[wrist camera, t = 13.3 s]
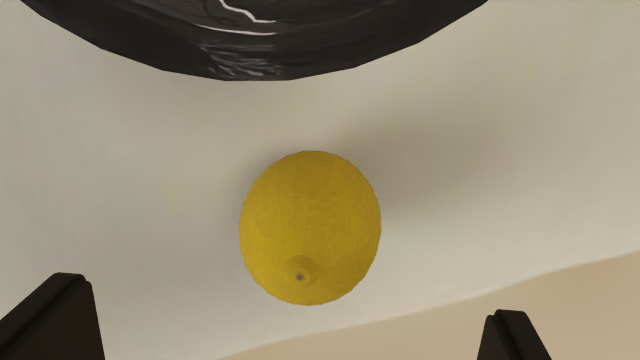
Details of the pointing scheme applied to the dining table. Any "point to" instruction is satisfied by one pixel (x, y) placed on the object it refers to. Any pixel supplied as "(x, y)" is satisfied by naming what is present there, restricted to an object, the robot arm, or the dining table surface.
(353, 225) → the lemon
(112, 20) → the wine glass
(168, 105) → the dining table surface
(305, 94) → the dining table surface
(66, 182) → the dining table surface
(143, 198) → the dining table surface
